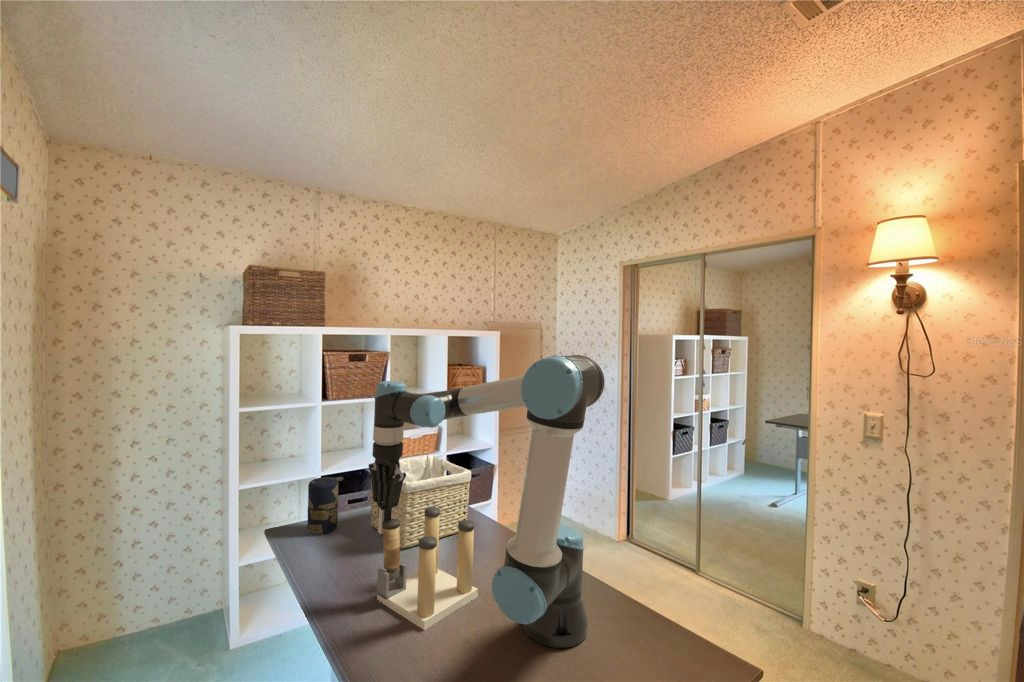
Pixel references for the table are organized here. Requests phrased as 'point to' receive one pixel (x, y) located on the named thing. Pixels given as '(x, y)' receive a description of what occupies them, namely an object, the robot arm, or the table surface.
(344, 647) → the table surface
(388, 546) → the hinged leg
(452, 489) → the basket
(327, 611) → the table surface
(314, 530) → the canister
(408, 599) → the stool seat
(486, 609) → the table surface
